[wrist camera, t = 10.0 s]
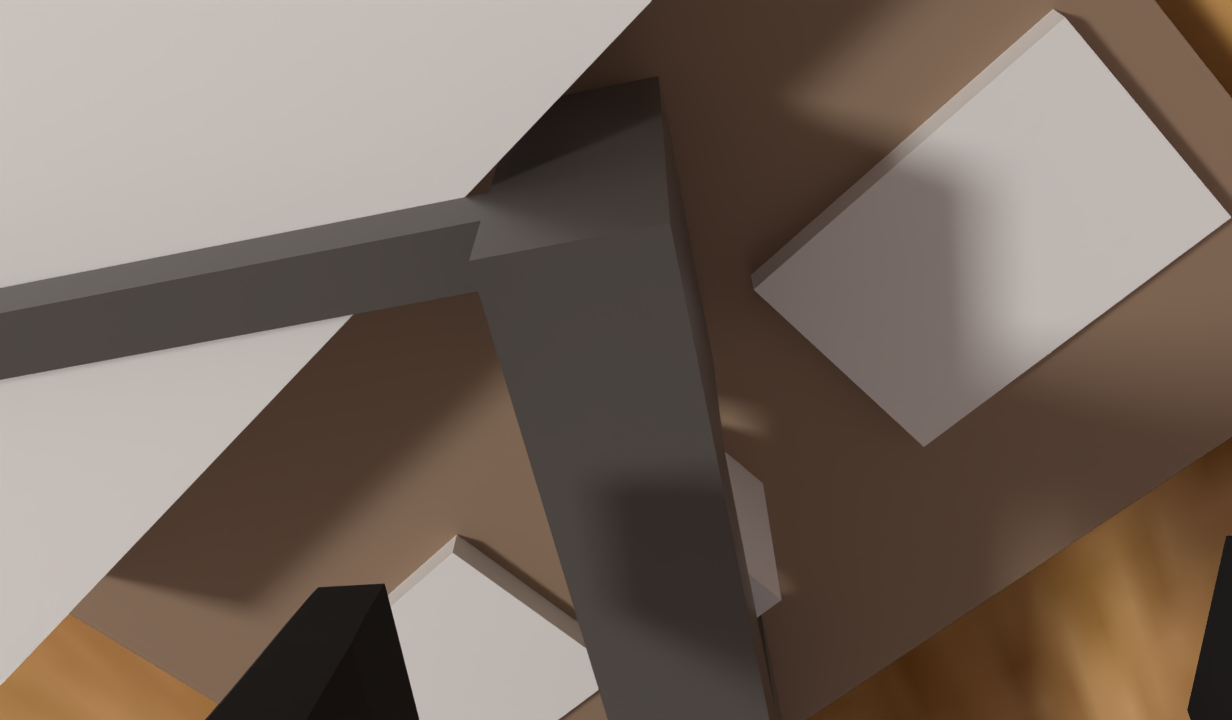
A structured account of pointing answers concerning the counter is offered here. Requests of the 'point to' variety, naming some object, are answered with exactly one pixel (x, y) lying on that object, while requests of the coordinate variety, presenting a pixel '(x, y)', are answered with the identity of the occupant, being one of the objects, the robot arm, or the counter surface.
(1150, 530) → the counter surface
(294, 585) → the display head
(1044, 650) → the counter surface
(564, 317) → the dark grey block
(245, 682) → the robot arm
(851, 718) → the counter surface
